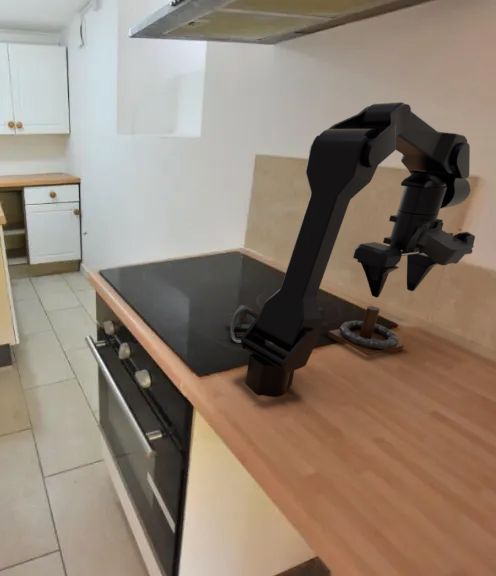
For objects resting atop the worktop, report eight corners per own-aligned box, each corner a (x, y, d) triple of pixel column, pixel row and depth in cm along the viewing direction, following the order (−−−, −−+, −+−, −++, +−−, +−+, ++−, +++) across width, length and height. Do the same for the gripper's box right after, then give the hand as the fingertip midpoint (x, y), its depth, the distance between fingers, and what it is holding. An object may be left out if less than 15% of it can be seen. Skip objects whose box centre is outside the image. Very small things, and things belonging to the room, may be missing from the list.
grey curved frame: (283, 329, 81) (246, 288, 81) (296, 337, 74) (255, 291, 74) (248, 358, 82) (211, 317, 82) (258, 368, 75) (218, 323, 75)
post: (366, 359, 70) (377, 321, 67) (327, 336, 78) (335, 302, 75) (402, 350, 72) (414, 314, 70) (360, 329, 80) (369, 296, 77)
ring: (371, 354, 69) (373, 347, 69) (328, 330, 78) (330, 323, 77) (409, 345, 72) (411, 338, 71) (363, 323, 80) (365, 316, 80)
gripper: (428, 226, 57) (398, 319, 63) (508, 217, 62) (474, 303, 68) (361, 212, 67) (341, 293, 73) (436, 205, 72) (411, 282, 78)
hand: (393, 293), depth 72 cm, fingers open, 9 cm apart
